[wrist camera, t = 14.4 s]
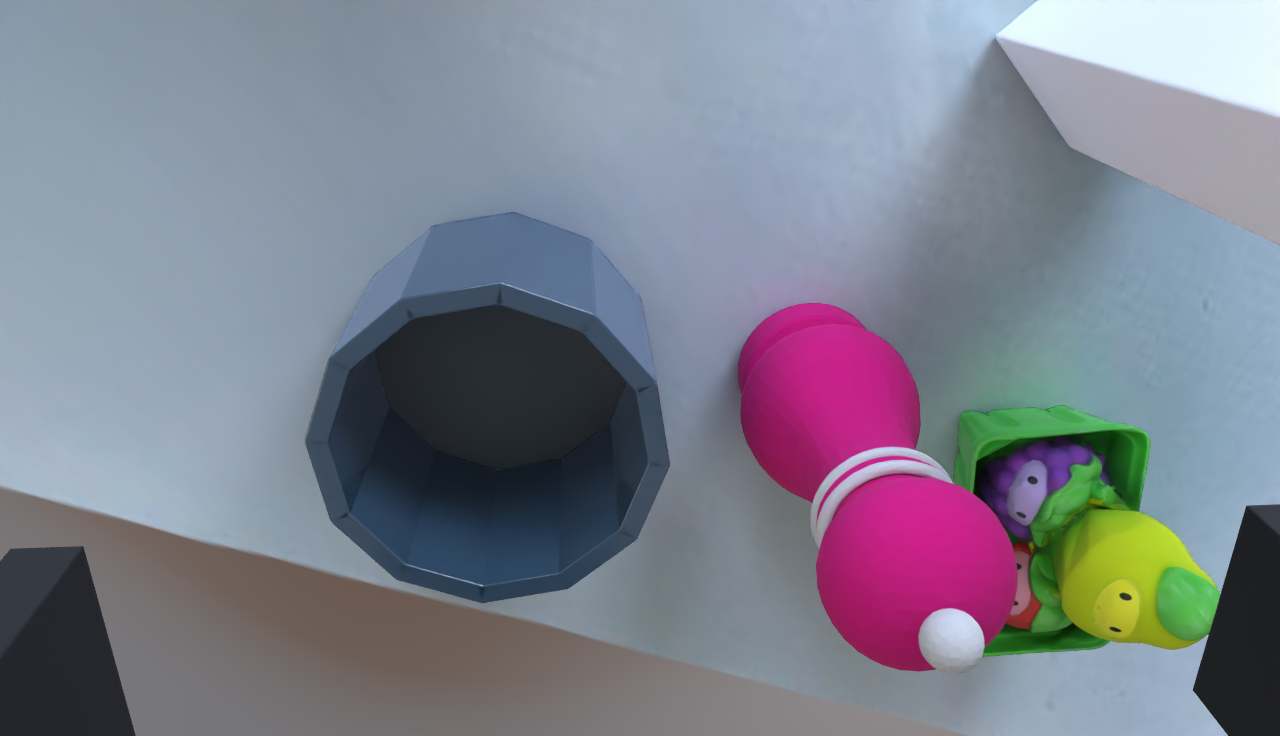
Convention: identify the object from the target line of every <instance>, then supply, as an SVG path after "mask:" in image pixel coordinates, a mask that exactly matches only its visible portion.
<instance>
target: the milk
mask: <svg viewBox="0 0 1280 736" xmlns="http://www.w3.org/2000/svg"><path fill="white" fill-rule="evenodd" d="M995 37H996V39H997V41H998V42H999V44H1000V45H1001V47H1002V48H1003V50H1004V51H1005V53H1006V54H1007V56H1008V57H1009V59H1010V60H1011V62H1012V63H1013V65H1014V66H1015V67H1016V69H1017V70H1018V72H1019V73H1020V75H1021V76H1022V78H1023V79H1024V81H1025V82H1026V84H1027V85H1028V87H1029V88H1030V90H1031V91H1032V93H1033V94H1034V96H1035V97H1036V98H1037V100H1038V101H1039V103H1040V104H1041V106H1042V107H1043V109H1044V110H1045V112H1046V113H1047V115H1048V116H1049V118H1050V119H1051V121H1052V122H1053V124H1054V125H1055V127H1056V128H1057V129H1058V131H1059V132H1060V134H1061V135H1062V137H1063V138H1064V140H1065V141H1066V143H1067V144H1068V146H1069V147H1071V148H1072V149H1074V150H1077V151H1079V152H1081V153H1083V154H1085V155H1087V156H1089V157H1092V158H1094V159H1096V160H1098V161H1100V162H1102V163H1105V164H1107V165H1109V166H1111V167H1113V168H1115V169H1117V170H1120V171H1122V172H1124V173H1126V174H1128V175H1130V176H1132V177H1135V178H1137V179H1139V180H1141V181H1143V182H1145V183H1148V184H1150V185H1152V186H1154V187H1156V188H1158V189H1160V190H1163V191H1165V192H1167V193H1169V194H1171V195H1173V196H1176V197H1178V198H1180V199H1182V200H1184V201H1186V202H1188V203H1191V204H1193V205H1195V206H1197V207H1199V208H1201V209H1203V210H1206V211H1208V212H1210V213H1212V214H1214V215H1216V216H1219V217H1221V218H1223V219H1225V220H1227V221H1229V222H1231V223H1234V224H1236V225H1238V226H1240V227H1242V228H1244V229H1246V230H1249V231H1251V232H1253V233H1255V234H1257V235H1259V236H1262V237H1264V238H1266V239H1268V240H1270V241H1272V242H1274V243H1277V244H1279V245H1280V0H1038V1H1036V2H1035V3H1034V4H1033V5H1032V6H1030V7H1029V8H1028V9H1027V10H1026V11H1024V12H1023V13H1022V14H1021V15H1019V16H1018V17H1017V18H1016V19H1015V20H1013V21H1012V22H1011V23H1010V24H1009V25H1007V26H1006V27H1005V28H1004V29H1003V30H1001V31H1000V32H999V33H998V34H997V35H996V36H995Z"/></svg>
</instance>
